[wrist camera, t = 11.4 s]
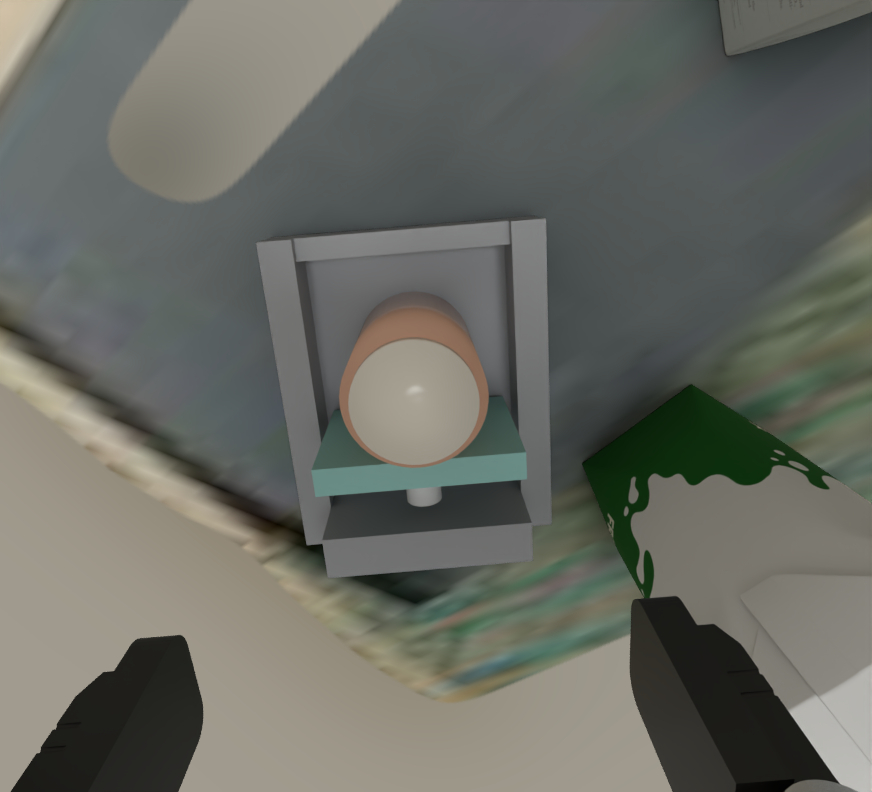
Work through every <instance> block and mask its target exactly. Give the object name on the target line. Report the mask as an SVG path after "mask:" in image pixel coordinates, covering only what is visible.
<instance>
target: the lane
mask: <svg viewBox="0 0 872 792" xmlns="http://www.w3.org/2000/svg"><path fill="white" fill-rule="evenodd" d="M256 246H257V252H258V258H259V264H260V270H261V276H262V282H263V288H264V294H265V300H266V305H267V311H268V317H269V323H270V329H271V335H272V341H273V347H274V353H275V359H276V365H277V371H278V377H279V383H280V389H281V395H282V401H283V407H284V413H285V419H286V425H287V430H288V436H289V442H290V448H291V454H292V460H293V466H294V472H295V478H296V484H297V490H298V496H299V502H300V508H301V514H302V520H303V526H304V532H305V538H306V544H307V545H313V544H323V549H324V556H325V562H326V568H327V575H328V578H335V577H347V576H359V575H370V574H382V573H394V572H406V571H418V570H430V569H442V568H453V567H465V566H477V565H489V564H501V563H513V562H525V561H533V542H532V526H539V525H551V524H552V507H551V455H550V403H549V351H548V299H547V247H546V218H541V217H537V216H524V217H512V218H500V219H488V220H476V221H464V222H452V223H439V224H427V225H415V226H403V227H391V228H379V229H367V230H355V231H342V232H330V233H318V234H306V235H294V236H282V237H271V238H268V239H265V240H262V241H259V242H256ZM404 292H425V293H429V294H433V295H435V296H438V297H440V298H442V299H444V300H446V301H447V302H448V303H450V304H451V305H452V306H453V307H454V308H455V309H456V310H457V311H458V312H459V313H460V315H461V316H462V318H463V319H464V321H465V323H466V325H467V328H468V330H469V333H470V336H471V338H472V341H473V344H474V347H475V349H476V352H477V355H478V357H479V360H480V363H481V366H482V368H483V371H484V374H485V377H486V380H487V384H488V392H489V397H499V396H503V398H504V400H505V403H506V405H507V407H508V410H509V412H510V415H511V417H512V419H513V422H514V424H515V427H516V429H517V431H518V434H519V436H520V439H521V441H522V443H523V446H524V448H525V451H526V462H527V479H525V480H513V481H501V482H489V483H477V484H465V485H453V486H441V491H442V499H441V500H440V501H439V502H438V503H436V504H434V505H431V506H424V507H420V506H414V505H411V504H410V503H409V502H408V501H407V492H406V489H405V490H393V491H381V492H370V493H358V494H346V495H334V496H322V497H315V491H314V484H313V478H312V472H311V470H312V467H313V464H314V462H315V459H316V456H317V454H318V451H319V448H320V446H321V443H322V440H323V438H324V435H325V433H326V430H327V427H328V425H329V422H330V419H331V417H332V414H333V411H334V410H340V402H339V392H340V384H341V380H342V376H343V374H344V371H345V368H346V366H347V363H348V361H349V358H350V356H351V353H352V351H353V348H354V346H355V343H356V341H357V338H358V336H359V333H360V331H361V328H362V326H363V324H364V322H365V320H366V318H367V317H368V315H369V314H370V312H371V311H372V310H373V309H374V308H375V307H376V306H377V305H378V304H380V303H381V302H382V301H384V300H385V299H387V298H389V297H391V296H394V295H396V294H400V293H404Z"/></svg>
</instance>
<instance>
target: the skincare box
mask: <svg viewBox="0 0 872 792" xmlns="http://www.w3.org/2000/svg"><path fill="white" fill-rule="evenodd" d="M719 8H720V17H721V24H722V31H723V39H724V47H725V53H726V55H727V56H730V55H735V54H740V53H744V52H748V51H752V50H756V49H759V48H763V47H767V46H770V45H774V44H777V43H781V42H784V41H787V40H791V39H794V38H797V37H801V36H804V35H807V34H810V33H813V32H816V31H819V30H822V29H825V28H828V27H831V26H834V25H837V24H840V23H843V22H846V21H848V20H851V19H854V18H857V17H859V16H862V15H865V14H867V13H870V12H872V0H719Z"/></svg>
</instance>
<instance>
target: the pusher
mask: <svg viewBox="0 0 872 792" xmlns="http://www.w3.org/2000/svg"><path fill="white" fill-rule="evenodd" d="M311 472H312V478H313V484H314V491H315V497H322V496H334V495H346V494H358V493H370V492H381V491H393V490H405V489H406V492H407V501H408V502H409V503H410V504H411V505H414V506H420V507H424V506H431V505H434V504H436V503H438V502H439V501H440V500H441V499H442V491H441V486H453V485H465V484H477V483H489V482H501V481H513V480H525V479H527V462H526V451H525V448H524V446H523V443H522V441H521V439H520V436H519V434H518V431H517V429H516V427H515V424H514V422H513V419H512V417H511V415H510V412H509V410H508V407H507V405H506V403H505V400H504V398H503V396H499V397H489V403H488V409H487V414H486V417H485V421H484V423H483V425H482V427H481V429H480V431H479V433H478V434H477V436H476V437H475V438H474V440H473V441H472V442H471V443H470V444H469V445H468V446H467V447H466V448H465V449H464V450H463V451H462V452H460V453H459V454H458V455H456V456H454V457H453V458H451V459H449V460H447V461H445V462H442V463H440V464H436V465H433V466H428V467H421V468H409V467H400V466H396V465H392V464H389V463H386V462H383V461H381V460H379V459H377V458H375V457H374V456H372V455H371V454H369V453H368V452H366V451H365V450H364V449H363V448H362V447H361V446H360V445H359V444H358V443H357V442H356V441H355V440H354V438H353V437H352V436H351V434H350V433H349V431H348V429H347V427H346V425H345V423H344V420H343V417H342V414H341V410H334V411H333V414H332V417H331V419H330V422H329V425H328V427H327V430H326V433H325V435H324V438H323V440H322V443H321V446H320V448H319V451H318V454H317V456H316V459H315V462H314V464H313V467H312V470H311Z"/></svg>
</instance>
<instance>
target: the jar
mask: <svg viewBox="0 0 872 792" xmlns="http://www.w3.org/2000/svg"><path fill="white" fill-rule="evenodd" d="M339 402H340V410H341V414H342V417H343V420H344V423H345V425H346V427H347V429H348V431H349V433H350V434H351V436H352V437H353V438H354V440H355V441H356V442H357V443H358V444H359V445H360V446H361V447H362V448H363V449H364V450H365V451H366V452H368V453H369V454H371V455H372V456H374V457H375V458H377V459H379V460H381V461H383V462H386V463H389V464H392V465H396V466H400V467H409V468H421V467H428V466H433V465H436V464H440V463H442V462H445V461H447V460H449V459H451V458H453V457H454V456H456V455H458V454H459V453H460V452H462V451H463V450H464V449H465V448H466V447H467V446H468V445H469V444H470V443H471V442H472V441H473V440H474V438H475V437H476V436H477V434H478V433H479V431H480V429H481V427H482V425H483V423H484V421H485V417H486V414H487V409H488V403H489V392H488V384H487V380H486V377H485V374H484V371H483V368H482V366H481V363H480V360H479V357H478V355H477V352H476V349H475V347H474V344H473V341H472V338H471V336H470V333H469V330H468V328H467V325H466V323H465V321H464V319H463V318H462V316H461V315H460V313H459V312H458V311H457V310H456V309H455V308H454V307H453V306H452V305H451V304H450V303H448V302H447V301H446V300H444V299H442V298H440V297H438V296H435V295H433V294H429V293H425V292H404V293H400V294H396V295H394V296H391V297H389V298H387V299H385V300H384V301H382V302H381V303H380V304H378V305H377V306H376V307H375V308H374V309H373V310H372V311H371V312H370V314H369V315H368V317H367V318H366V320H365V322H364V324H363V326H362V328H361V331H360V333H359V336H358V338H357V341H356V343H355V346H354V348H353V351H352V353H351V356H350V358H349V361H348V363H347V366H346V368H345V371H344V374H343V376H342V380H341V384H340V392H339Z"/></svg>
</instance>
